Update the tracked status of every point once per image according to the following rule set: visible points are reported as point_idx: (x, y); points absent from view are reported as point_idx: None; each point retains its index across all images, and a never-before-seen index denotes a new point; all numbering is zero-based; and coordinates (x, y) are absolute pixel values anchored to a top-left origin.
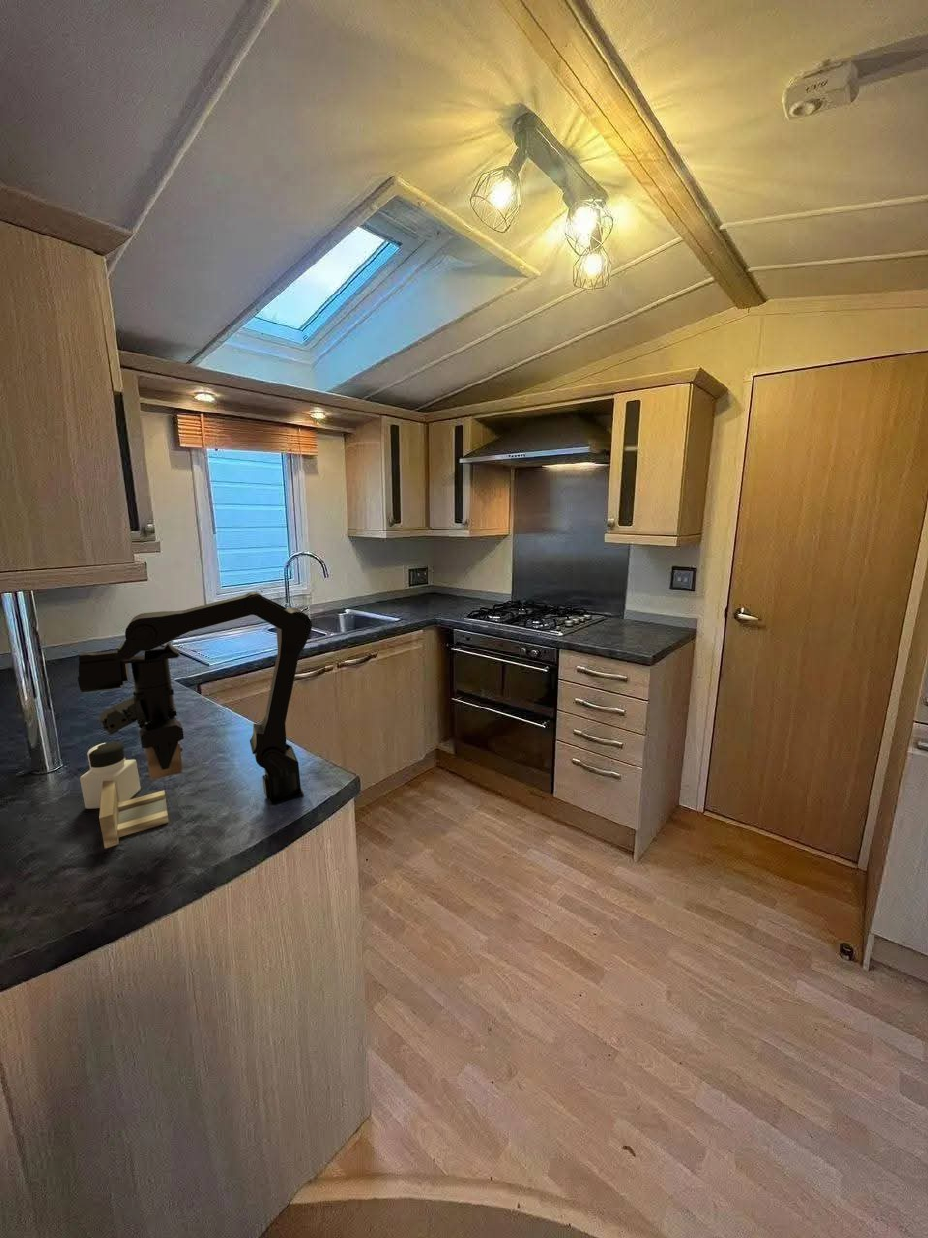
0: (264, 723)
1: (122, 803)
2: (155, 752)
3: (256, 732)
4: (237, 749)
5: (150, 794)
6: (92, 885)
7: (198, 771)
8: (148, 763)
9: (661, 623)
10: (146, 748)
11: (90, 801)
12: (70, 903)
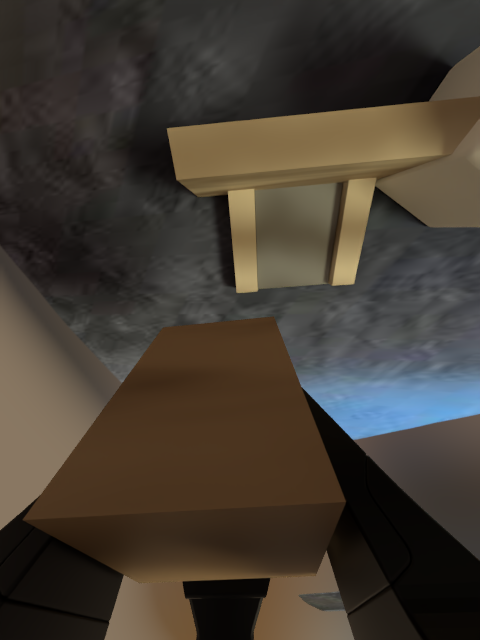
0: (221, 622)
1: (362, 190)
2: (6, 526)
3: (192, 598)
4: (430, 387)
5: (357, 256)
6: (61, 157)
7: (403, 333)
8: (123, 386)
9: (343, 609)
10: (50, 523)
11: (460, 73)
12: (2, 113)
